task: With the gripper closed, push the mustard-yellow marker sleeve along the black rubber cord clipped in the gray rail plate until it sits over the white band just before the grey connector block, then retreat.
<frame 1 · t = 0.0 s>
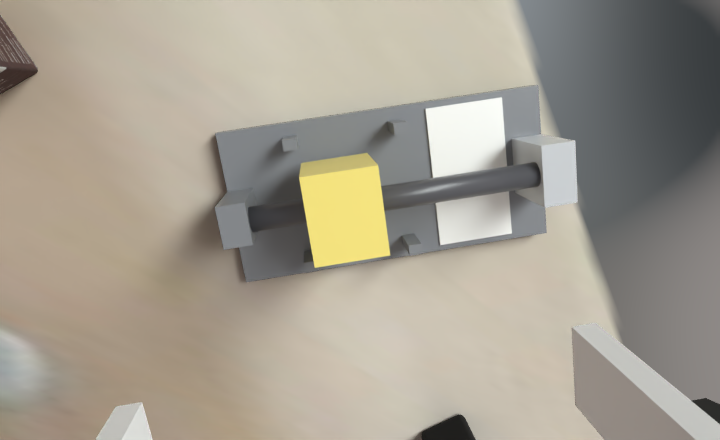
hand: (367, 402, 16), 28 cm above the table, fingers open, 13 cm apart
sleeve: (342, 206, 37), point 6 cm above the table, slide at -4.0 cm
gray rail plate: (387, 183, 43), on the table
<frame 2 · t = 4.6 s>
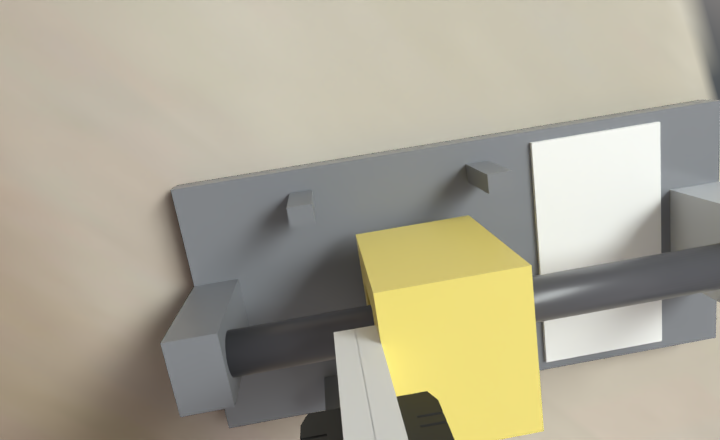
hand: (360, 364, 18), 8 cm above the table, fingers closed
sleeve: (438, 321, 20), point 6 cm above the table, slide at -2.4 cm, touching gripper
gray rail plate: (459, 262, 26), on the table
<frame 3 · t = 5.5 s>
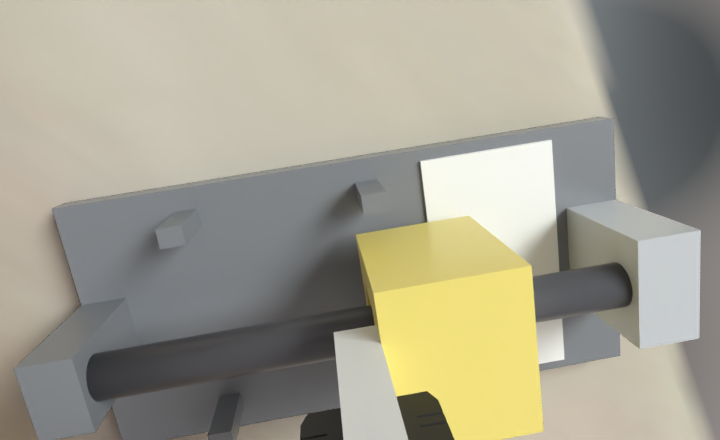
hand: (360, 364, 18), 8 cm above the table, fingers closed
sleeve: (438, 321, 20), point 6 cm above the table, slide at 2.6 cm, touching gripper
gray rail plate: (358, 279, 26), on the table
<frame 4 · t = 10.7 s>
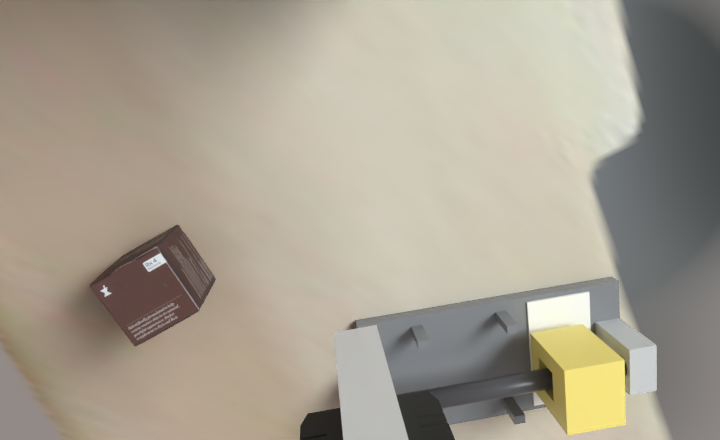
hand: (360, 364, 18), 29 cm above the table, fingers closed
box: (170, 266, 47), on the table
sleeve: (575, 376, 46), point 6 cm above the table, slide at 5.7 cm
gray rail plate: (490, 354, 52), on the table
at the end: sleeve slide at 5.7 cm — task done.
